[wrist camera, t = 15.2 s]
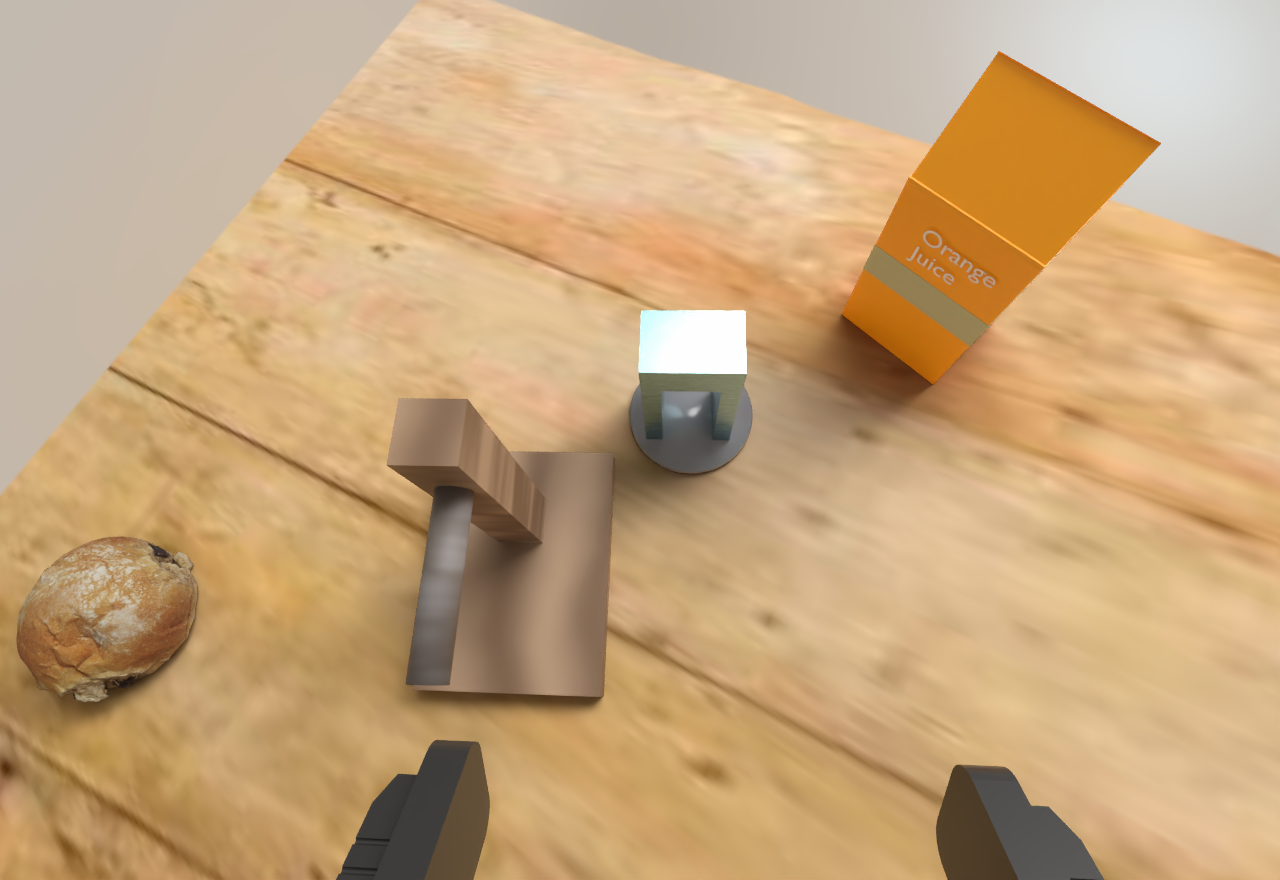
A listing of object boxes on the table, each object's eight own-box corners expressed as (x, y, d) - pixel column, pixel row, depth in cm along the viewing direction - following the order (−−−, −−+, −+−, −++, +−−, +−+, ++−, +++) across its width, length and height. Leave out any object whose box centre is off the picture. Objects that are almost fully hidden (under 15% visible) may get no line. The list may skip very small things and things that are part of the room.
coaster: (749, 362, 47) (750, 358, 46) (753, 475, 44) (754, 472, 43) (632, 361, 47) (632, 357, 47) (628, 472, 44) (627, 470, 44)
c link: (728, 389, 46) (744, 310, 35) (729, 440, 44) (746, 373, 34) (647, 389, 46) (641, 310, 36) (646, 439, 45) (638, 372, 34)
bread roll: (251, 604, 46) (209, 545, 41) (127, 737, 39) (55, 688, 34) (146, 557, 48) (92, 494, 42) (10, 676, 41) (-78, 620, 35)
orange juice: (932, 386, 46) (1115, 195, 27) (839, 314, 48) (947, 92, 29) (995, 320, 47) (1209, 95, 28) (902, 254, 50) (1042, 6, 31)
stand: (615, 459, 45) (577, 327, 27) (603, 695, 39) (547, 725, 22) (454, 456, 46) (314, 326, 28) (421, 688, 40) (221, 711, 22)
